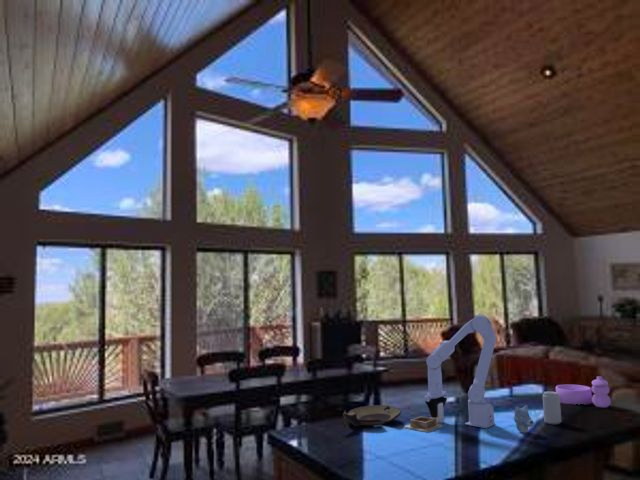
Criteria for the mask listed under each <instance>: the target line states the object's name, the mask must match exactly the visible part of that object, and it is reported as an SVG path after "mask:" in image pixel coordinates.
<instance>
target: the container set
mask: <svg viewBox="0 0 640 480" xmlns="http://www.w3.org/2000/svg"><path fill="white" fill-rule="evenodd" d="M591 385H592V386H591V387H590V386H588V385H582V384H581V385H580V384H557V385H556V386H555V392H557V393H558V395H559V396H560V404H565V405H575V406H577V405H576V404H578V405H580V404H584V405H590V404H594V406H595V407H596V408H608V407H609V406H610V405H611V403H612V400H611V398H610V396H609V395H608V394H609V393H610V387H609V382H608V381H607V380H605V379H603V376H599V375H598V376H596V379H593V380H592V381H591ZM592 393H594V394H593V395H592Z"/></svg>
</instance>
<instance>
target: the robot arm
mask: <svg viewBox="0 0 640 480" xmlns="http://www.w3.org/2000/svg"><path fill="white" fill-rule="evenodd" d="M475 331H476V332H477V333H478V334H479V335H480V337H481V338H482V340H483V343H482V344H483V345H482V348H481V351H480V355H479V360H478V364H477V367H476V371H475V375H474V378H473V383H472V384H470V386H469V390H468V392H467V396H468V400H467V406H468V407H467V409H468V421H467V422H465V423H464V424H465V425H467V426H472V427H478V428H483V429H487V428H489V427H492V426H495V425H496V422H495V411H494V406H493V405H492V404H491V403H488V402H487V400H486V398H485V395H486V389H485V384H486V380H487V377H488V375H489V374H488V373H489V369H490V365H491V361H492V356H493V354H494V349H495V346H496V342H497V335H496V333H495V330H494V327H493V325H492V322H491V320H490V319H489V318H488V317H487V316H486V315H484V314H477V315H476V316H474V317H473V318H472V319H470V320H469V321H468V322H466V323H465V324H463V326H462V327H461V328H460V329H459V330H458V331H457V332H456V333H455V334H454V335H453V336H452V337H451V338H450V339H449V340H443V341H440V342H439V346H438V347H436V348H435V349H434V350H432V351H431V353H430V354H429V355H428V356H427V358H426V361H425V363H426V365H427V385H428V387H427V388H428V392H427V393H426V395H425V396H423V401H424V402H425V404H426V406H427V408H428V410H429V415H430V414H431V417H433V418H436V417H437V406H438V403H439V402H443V410H445V409H444V408H445V405H446V403H447V401H448V398H447V397H448V391H447V390H443V373H442V367H441V366H442V362H445V361H446V360H447V359H448V358H449V357H450V356H451V355H452V354H453V353H454V352H455V346H456V345H458V343H459V342H461V341H462V339H464V338H465V337H466V336H467V335H468V334H473V333H475Z"/></svg>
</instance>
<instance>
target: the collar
mask: <svg viewBox="0 0 640 480" xmlns="http://www.w3.org/2000/svg"><path fill="white" fill-rule="evenodd" d="M441 428H444V426H443V424H437V419H434V418H430V417H429V416H428V417H427V416H417V417H414V418H412V419H409V424H407V425H405V426H404V429H408V430H414V431H418V432H422V433H430V432H432V431H435V430H438V429H441Z"/></svg>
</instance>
